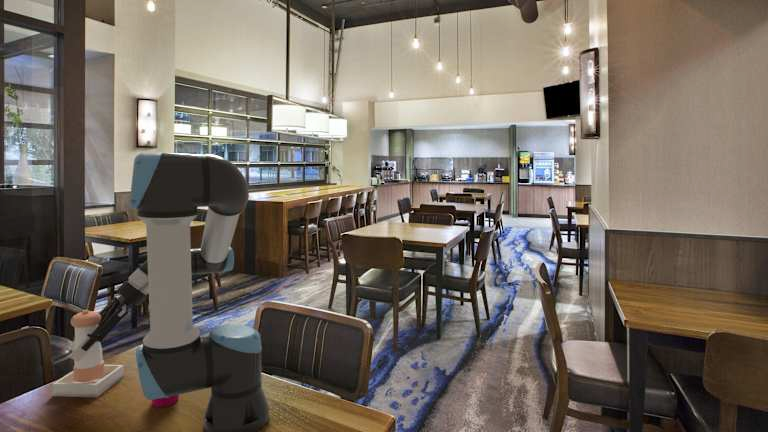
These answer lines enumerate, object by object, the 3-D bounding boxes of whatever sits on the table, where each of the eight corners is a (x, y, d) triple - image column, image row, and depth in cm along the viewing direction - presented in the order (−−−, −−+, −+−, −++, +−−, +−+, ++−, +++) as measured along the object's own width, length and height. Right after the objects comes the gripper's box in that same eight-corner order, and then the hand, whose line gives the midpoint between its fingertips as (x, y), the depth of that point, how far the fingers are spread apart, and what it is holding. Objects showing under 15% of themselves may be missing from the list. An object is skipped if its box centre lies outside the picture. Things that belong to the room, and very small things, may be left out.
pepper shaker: (105, 367, 127) (102, 304, 125) (103, 378, 121) (99, 312, 118) (75, 373, 123) (71, 308, 121) (71, 384, 117) (67, 316, 115)
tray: (97, 397, 116) (96, 384, 116) (53, 396, 116) (52, 383, 116) (124, 376, 128) (123, 365, 128) (84, 375, 128) (83, 364, 128)
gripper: (154, 302, 122) (87, 374, 113) (143, 287, 137) (83, 349, 128) (131, 287, 118) (60, 360, 110) (122, 273, 133) (59, 336, 125)
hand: (72, 354), depth 119 cm, fingers closed on pepper shaker, 6 cm apart
